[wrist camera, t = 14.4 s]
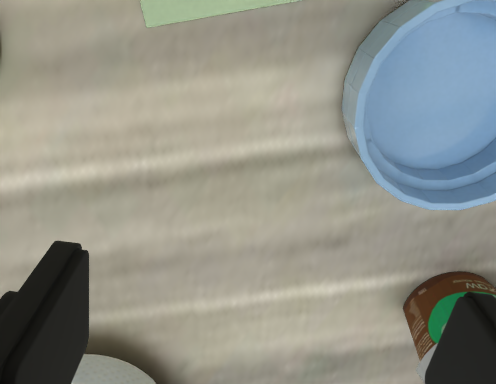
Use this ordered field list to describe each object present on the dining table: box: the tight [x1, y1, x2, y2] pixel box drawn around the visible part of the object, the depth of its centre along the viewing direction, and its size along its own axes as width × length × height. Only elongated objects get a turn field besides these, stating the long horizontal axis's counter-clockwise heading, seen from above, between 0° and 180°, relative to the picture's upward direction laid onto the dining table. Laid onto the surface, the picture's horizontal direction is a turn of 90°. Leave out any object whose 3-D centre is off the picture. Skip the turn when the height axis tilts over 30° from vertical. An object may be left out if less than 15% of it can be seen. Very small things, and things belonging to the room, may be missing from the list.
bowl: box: [342, 0, 496, 210], centre depth 33 cm, size 15×15×5 cm
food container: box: [403, 272, 496, 384], centre depth 39 cm, size 12×6×10 cm, turn 82°
